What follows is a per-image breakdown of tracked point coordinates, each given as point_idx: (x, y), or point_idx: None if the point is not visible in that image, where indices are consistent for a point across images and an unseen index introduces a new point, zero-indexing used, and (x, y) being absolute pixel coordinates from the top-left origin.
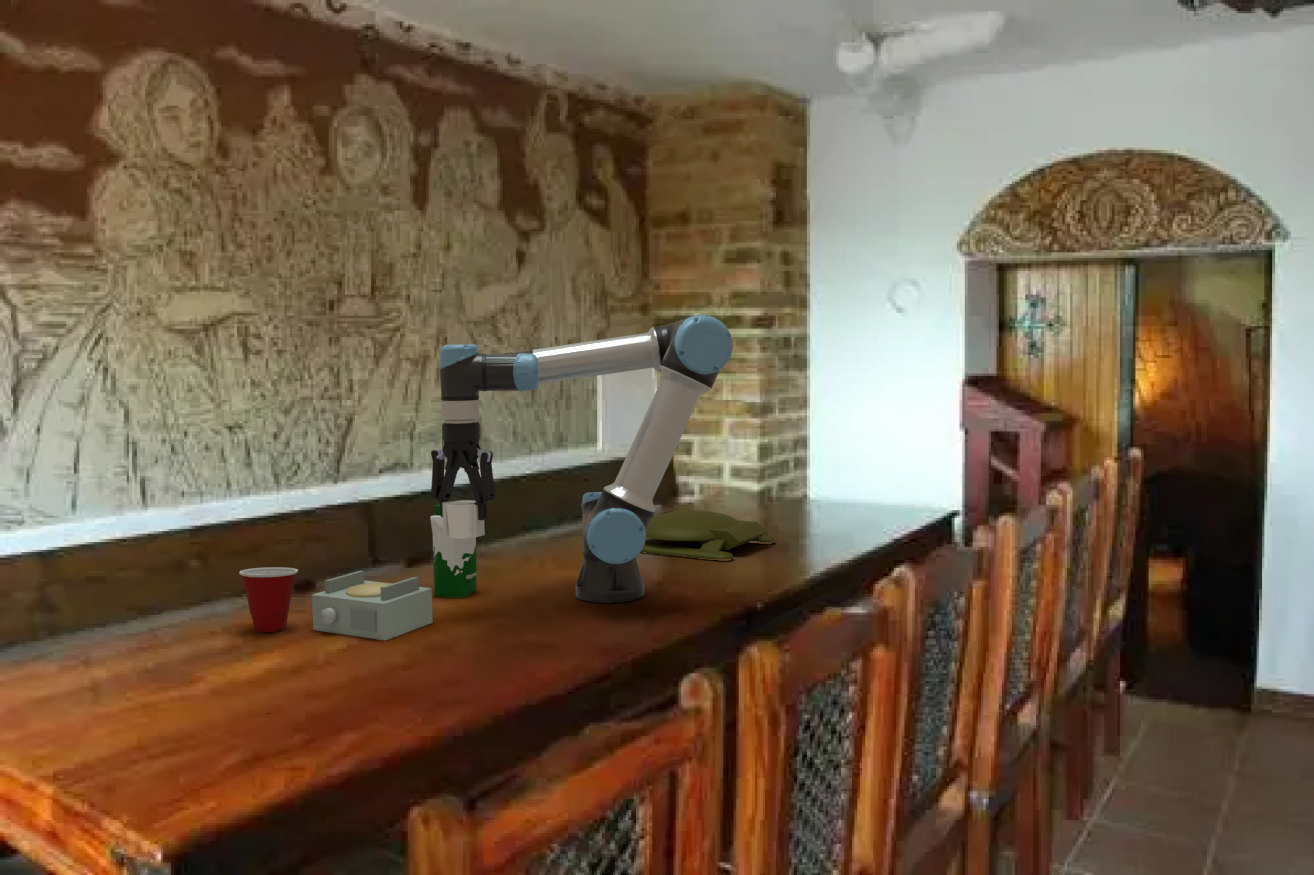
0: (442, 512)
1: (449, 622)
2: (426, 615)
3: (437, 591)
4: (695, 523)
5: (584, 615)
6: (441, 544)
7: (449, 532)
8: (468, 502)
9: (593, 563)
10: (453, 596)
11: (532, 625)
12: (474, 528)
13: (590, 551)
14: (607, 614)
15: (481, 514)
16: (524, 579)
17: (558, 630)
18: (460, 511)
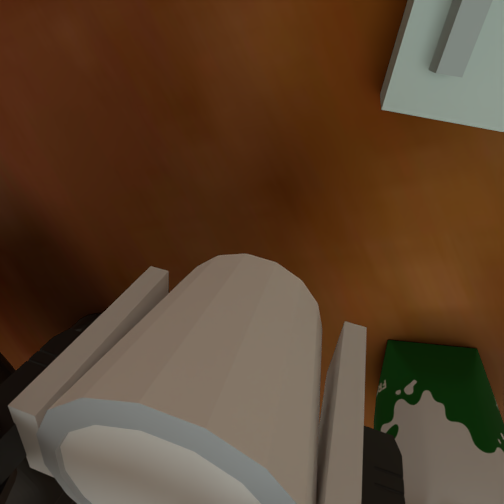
0: (377, 464)
1: (331, 114)
2: (390, 63)
3: (469, 356)
4: None
5: (84, 235)
6: (481, 475)
7: (336, 347)
8: (127, 495)
9: None
10: (419, 344)
11: (126, 139)
12: (138, 295)
13: None
14: (56, 247)
15: (47, 356)
16: None
17: (57, 112)
18: (133, 354)
